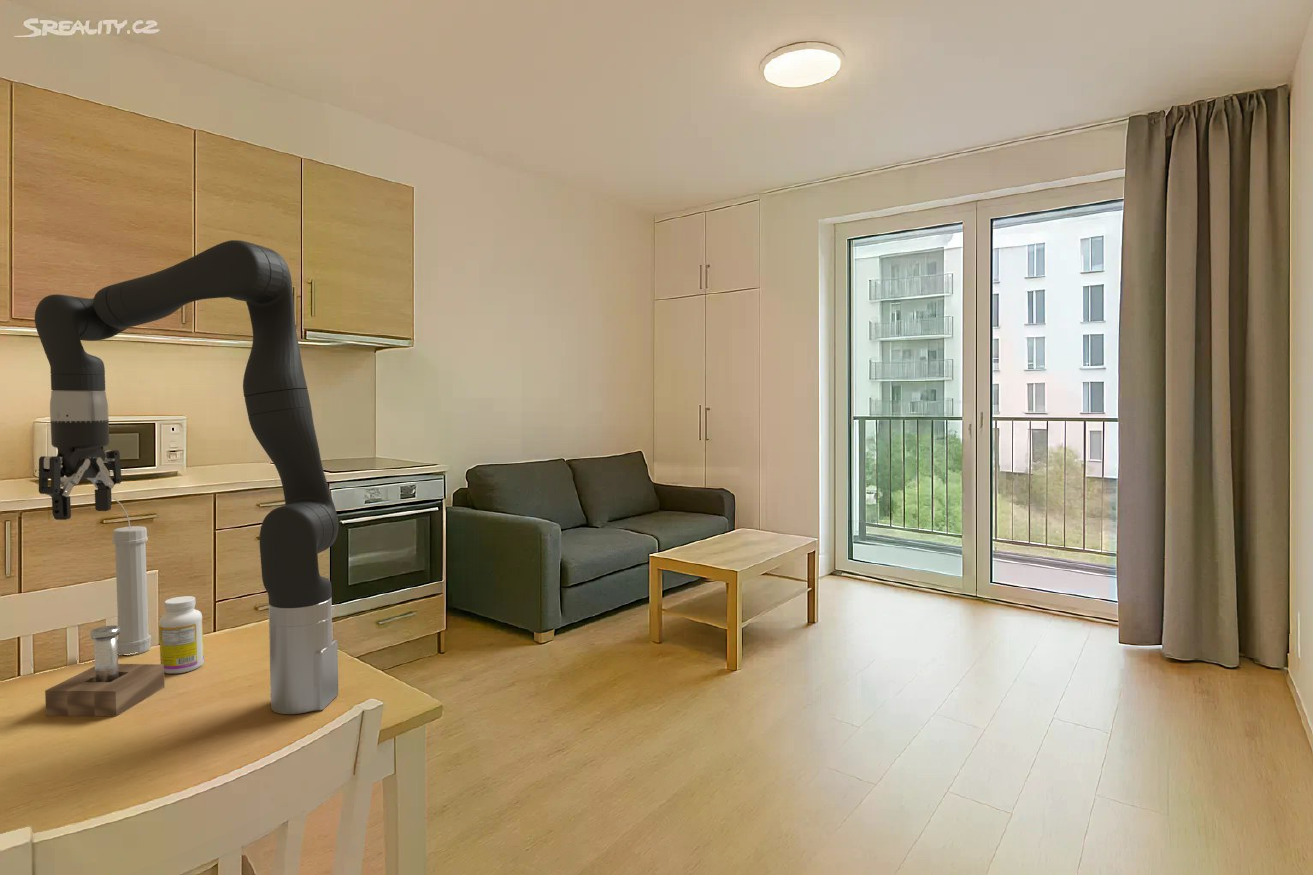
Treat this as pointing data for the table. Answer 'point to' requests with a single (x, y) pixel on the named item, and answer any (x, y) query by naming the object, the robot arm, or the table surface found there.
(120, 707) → the socket block
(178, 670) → the supplement bottle
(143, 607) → the pipe
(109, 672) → the pin
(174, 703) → the table surface
